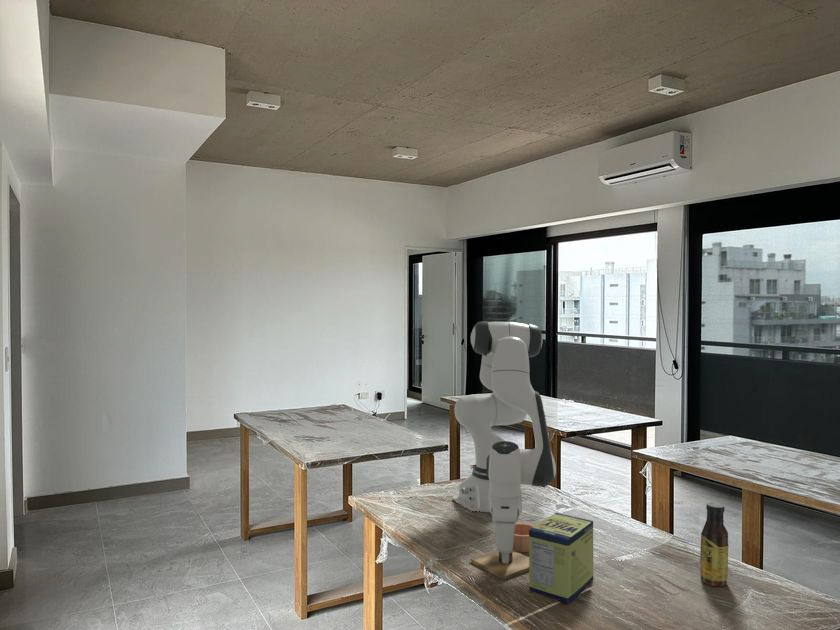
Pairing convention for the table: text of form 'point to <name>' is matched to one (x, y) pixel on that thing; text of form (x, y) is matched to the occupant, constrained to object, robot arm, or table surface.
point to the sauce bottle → (714, 547)
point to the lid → (503, 564)
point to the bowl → (521, 537)
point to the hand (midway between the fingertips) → (505, 555)
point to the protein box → (561, 557)
